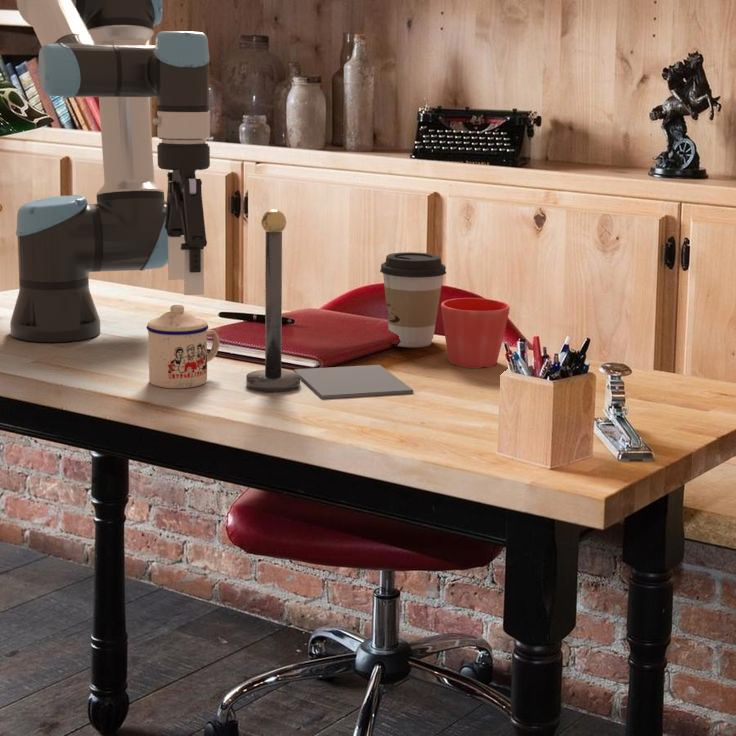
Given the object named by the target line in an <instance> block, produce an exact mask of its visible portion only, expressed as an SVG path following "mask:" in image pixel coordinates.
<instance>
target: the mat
mask: <svg viewBox="0 0 736 736" xmlns="http://www.w3.org/2000/svg"><path fill="white" fill-rule="evenodd" d="M293 372H296V373H298V374H299V375H300V381H302V382H303V383H305V385H307V386H308V388H309V389H310V390H312V391H313V393H315V394H316V396H318V397H319V398H320V399H322V400H324V399H325V400H326V399H339V398H340V399H341V398H355V397H356V398H358V397H371V396H372V397H373V396H387V395H404V394H414V389H413V388H411V386H409V385H407V384H406V383H405V382H403V381H402V380H401V379H400V378H398V377H397V376H395V375H394V374H393V373H391V372H390V371H389V370H387V369H386V368H385V367H383V366H382V365H380V364H369V365H354V366H353V365H351V366H348V365H347V366H335V367H333V366H332V367H315V368H314V367H313V368H295V369H293Z"/></svg>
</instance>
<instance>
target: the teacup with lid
mask: <svg viewBox="0 0 736 736" xmlns="http://www.w3.org/2000/svg"><path fill="white" fill-rule="evenodd" d="M146 330H147V331H148V332H147V333H148V334H147V339H148V341H147V342H148V380H149V383H150V384H151V385H153V386H156V387H159V388H163V389H164V388H165V389H190V387H191V388H195V387H199V386H203V385H204V384H206V383H207V381H208V363H209V362H211V361H212V360H213V359H215V357H216V356H217V353H218V351H219V349H220V336H219V334H218V333H217V332H216V331H215V330H213V329H209V325H208V322H207V321H206V320H205V319H204V318H201V317H197V316H196V315H194V314H192V313H191V312H188V311H185V306H183V304H173V305H171V306H170V311H168V312H165V313H163V314H162V315H161V316H158V317H156V318H153V319H150V320H149V321H148V322H147V325H146ZM208 335H209V336H211V338H212V345H211V349H210V351H209V353H208V343H207V342H208Z"/></svg>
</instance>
